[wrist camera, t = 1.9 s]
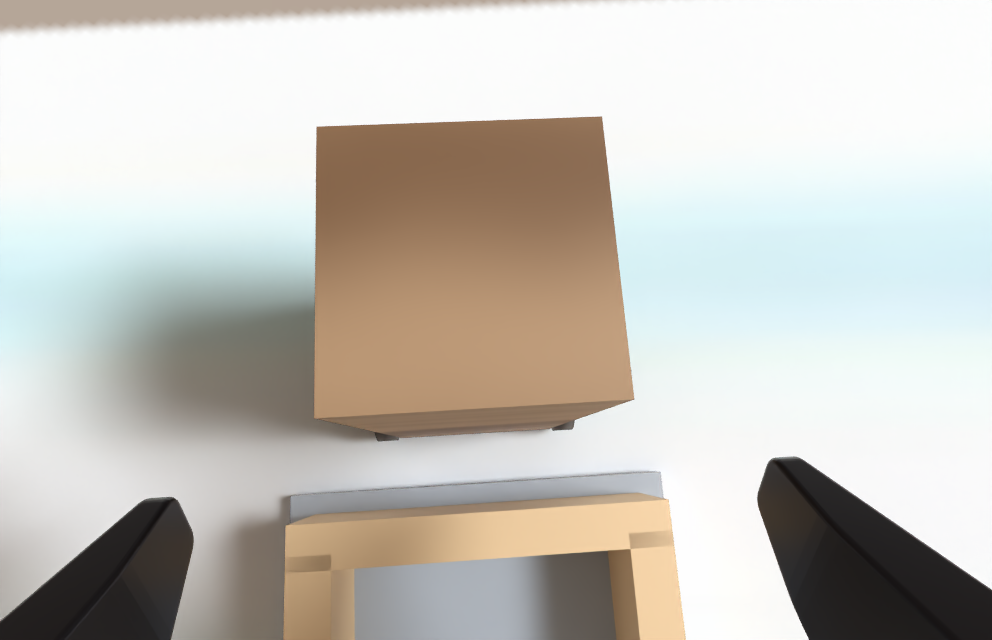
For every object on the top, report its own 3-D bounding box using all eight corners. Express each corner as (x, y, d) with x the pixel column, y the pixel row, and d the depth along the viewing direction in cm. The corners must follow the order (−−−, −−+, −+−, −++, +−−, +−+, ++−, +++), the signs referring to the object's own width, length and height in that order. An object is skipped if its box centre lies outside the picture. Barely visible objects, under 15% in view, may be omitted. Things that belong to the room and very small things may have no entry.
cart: (566, 430, 20) (672, 403, 9) (384, 442, 20) (274, 427, 9) (553, 285, 21) (634, 110, 10) (381, 294, 21) (281, 123, 10)
